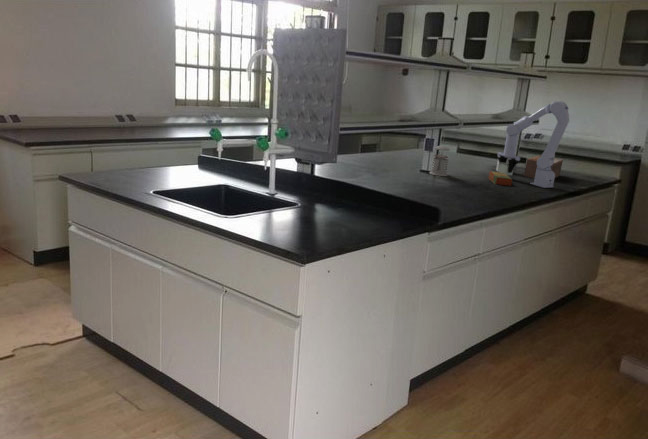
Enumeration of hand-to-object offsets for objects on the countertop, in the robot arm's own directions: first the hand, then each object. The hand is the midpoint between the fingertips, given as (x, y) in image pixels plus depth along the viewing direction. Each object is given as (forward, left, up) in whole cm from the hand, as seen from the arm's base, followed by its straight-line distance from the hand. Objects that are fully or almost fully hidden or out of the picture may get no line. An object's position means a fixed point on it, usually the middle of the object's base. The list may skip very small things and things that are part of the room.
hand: (505, 171), depth 315 cm
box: (0, 0, -2) cm, 2 cm away
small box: (+16, -16, -4) cm, 23 cm away
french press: (+12, +37, -4) cm, 39 cm away
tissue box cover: (+4, -35, -4) cm, 36 cm away
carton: (-8, +12, -5) cm, 15 cm away
